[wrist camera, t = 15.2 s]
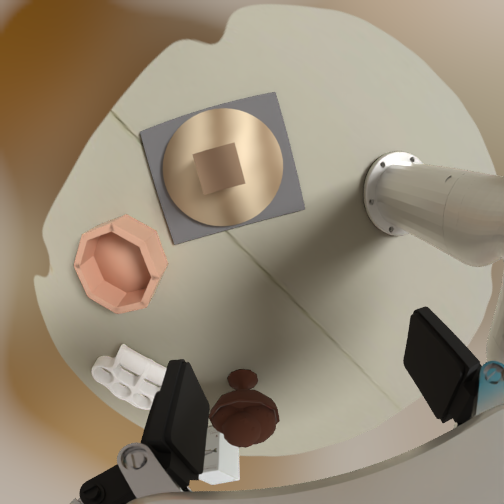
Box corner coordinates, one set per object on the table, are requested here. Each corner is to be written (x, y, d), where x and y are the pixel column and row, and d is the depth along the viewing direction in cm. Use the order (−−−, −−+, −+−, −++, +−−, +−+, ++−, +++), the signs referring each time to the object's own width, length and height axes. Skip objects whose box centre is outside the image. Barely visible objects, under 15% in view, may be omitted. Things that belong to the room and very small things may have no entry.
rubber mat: (274, 92, 30) (275, 91, 30) (304, 208, 36) (305, 209, 35) (141, 132, 31) (139, 131, 31) (175, 243, 36) (174, 244, 36)
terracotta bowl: (148, 206, 34) (135, 213, 30) (177, 285, 38) (169, 302, 34) (81, 231, 35) (64, 241, 30) (111, 301, 39) (98, 318, 34)
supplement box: (220, 421, 50) (219, 470, 38) (239, 435, 52) (241, 480, 40) (194, 429, 51) (189, 475, 39) (213, 443, 53) (212, 485, 41)
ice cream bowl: (204, 388, 46) (197, 454, 32) (228, 349, 43) (227, 422, 28) (254, 403, 48) (259, 466, 34) (283, 367, 45) (298, 436, 31)
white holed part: (197, 377, 45) (167, 412, 49) (108, 329, 41) (92, 373, 45) (195, 390, 42) (164, 424, 46) (101, 341, 38) (86, 384, 41)
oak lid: (265, 97, 30) (272, 83, 24) (293, 208, 35) (306, 219, 29) (151, 130, 31) (133, 124, 24) (183, 237, 36) (172, 255, 29)
